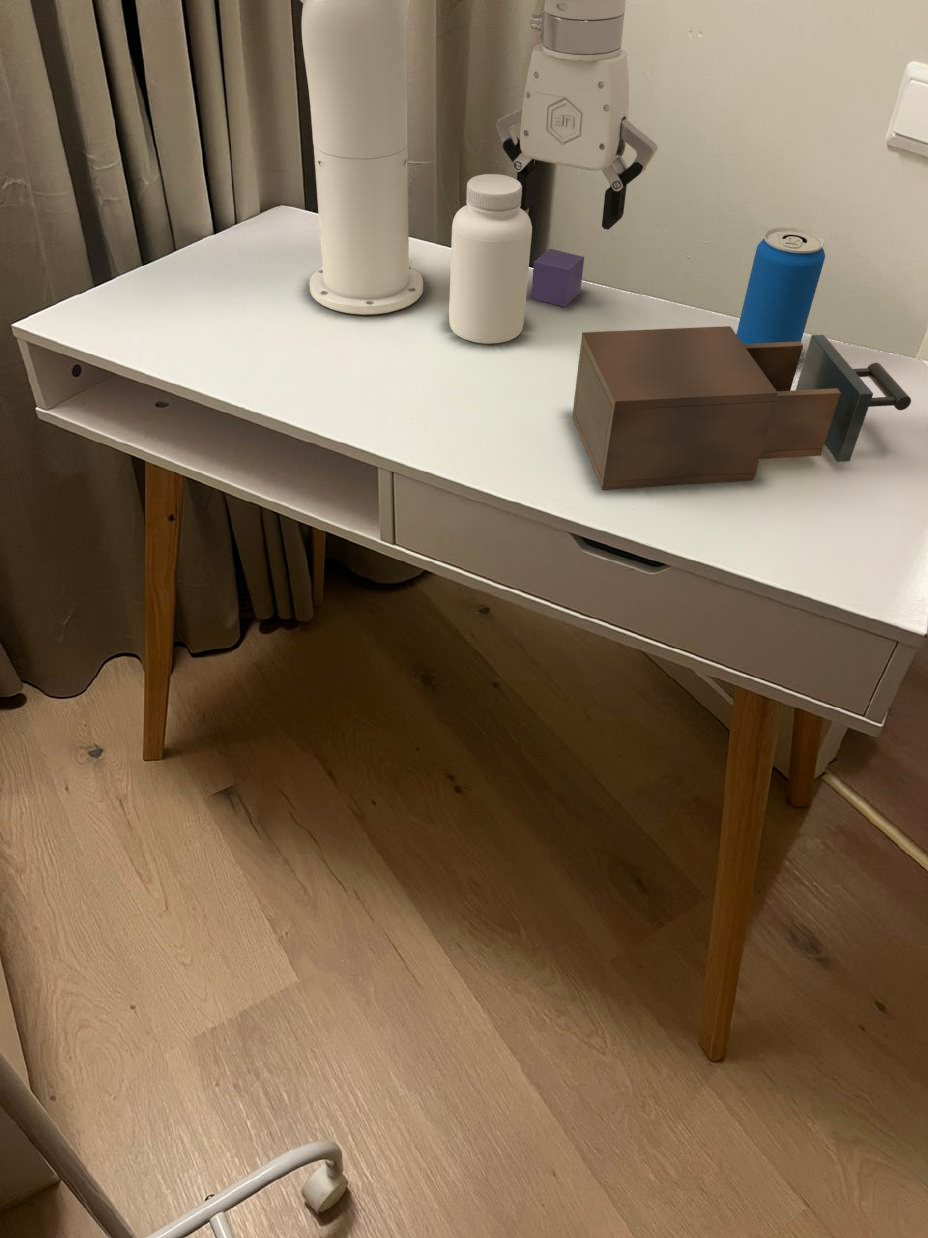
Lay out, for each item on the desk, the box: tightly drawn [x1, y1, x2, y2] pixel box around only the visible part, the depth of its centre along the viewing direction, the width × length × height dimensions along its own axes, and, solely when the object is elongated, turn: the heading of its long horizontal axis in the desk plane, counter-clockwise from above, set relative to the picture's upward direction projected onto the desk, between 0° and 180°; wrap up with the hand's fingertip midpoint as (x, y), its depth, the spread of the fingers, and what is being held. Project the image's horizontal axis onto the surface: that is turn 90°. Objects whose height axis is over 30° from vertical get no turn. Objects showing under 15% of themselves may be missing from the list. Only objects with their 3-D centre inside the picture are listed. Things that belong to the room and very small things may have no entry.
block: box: [530, 248, 585, 308], centre depth 110 cm, size 4×4×4 cm
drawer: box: [743, 334, 912, 463], centre depth 88 cm, size 18×10×7 cm, turn 98°
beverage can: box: [735, 226, 826, 344], centre depth 99 cm, size 6×6×12 cm
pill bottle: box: [448, 173, 533, 344], centre depth 100 cm, size 8×8×15 cm
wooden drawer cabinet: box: [571, 325, 778, 490], centre depth 87 cm, size 14×12×9 cm
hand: (568, 215), depth 105 cm, fingers open, 9 cm apart
